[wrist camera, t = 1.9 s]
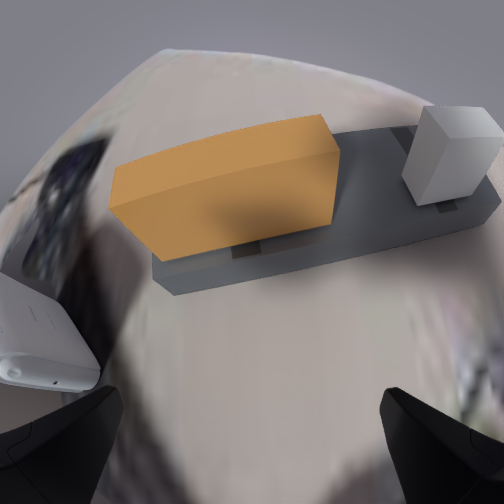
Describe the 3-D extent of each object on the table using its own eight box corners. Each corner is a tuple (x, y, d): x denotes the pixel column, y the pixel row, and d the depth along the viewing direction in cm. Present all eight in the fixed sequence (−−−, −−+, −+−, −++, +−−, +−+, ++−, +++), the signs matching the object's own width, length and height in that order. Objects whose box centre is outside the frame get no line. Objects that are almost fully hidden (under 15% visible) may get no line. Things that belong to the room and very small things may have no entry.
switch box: (483, 223, 21) (502, 201, 18) (174, 295, 23) (152, 279, 20) (439, 149, 26) (450, 123, 22) (171, 200, 28) (154, 175, 24)
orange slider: (331, 224, 19) (340, 150, 13) (162, 261, 20) (108, 208, 14) (318, 189, 20) (320, 114, 14) (161, 226, 21) (115, 167, 15)
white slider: (471, 195, 18) (507, 136, 12) (417, 206, 18) (449, 138, 12) (454, 167, 19) (483, 107, 13) (401, 175, 20) (423, 105, 14)
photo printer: (109, 371, 21) (-5, 344, 10) (86, 400, 20) (-26, 386, 9) (62, 297, 25) (-26, 247, 14) (42, 325, 24) (-46, 285, 13)
